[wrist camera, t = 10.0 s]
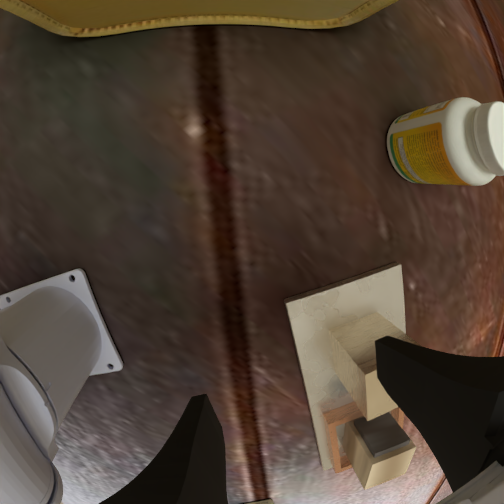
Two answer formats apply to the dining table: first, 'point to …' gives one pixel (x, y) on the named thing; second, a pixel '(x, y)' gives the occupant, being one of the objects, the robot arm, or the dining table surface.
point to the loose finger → (377, 449)
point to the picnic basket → (187, 14)
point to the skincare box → (262, 502)
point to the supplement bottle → (449, 143)
